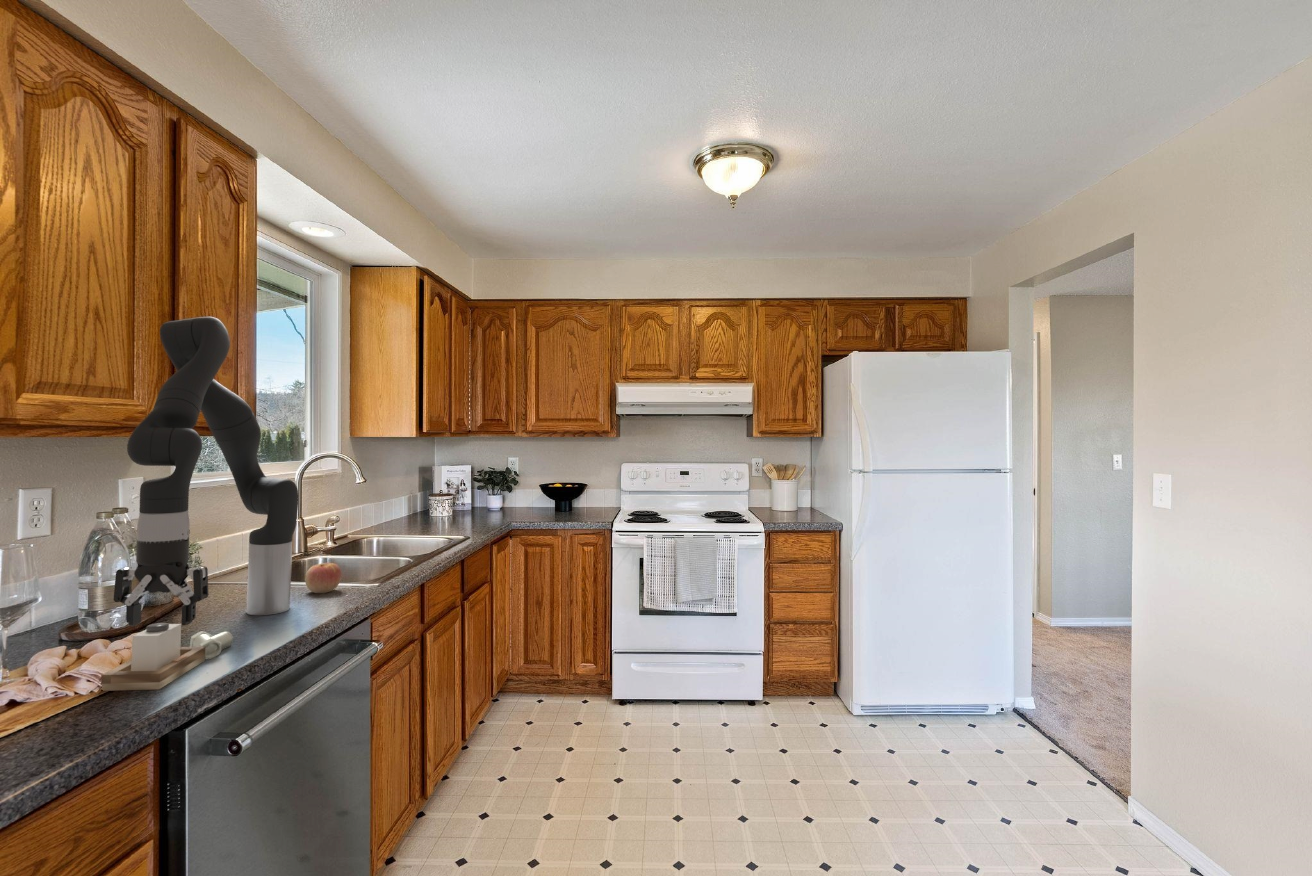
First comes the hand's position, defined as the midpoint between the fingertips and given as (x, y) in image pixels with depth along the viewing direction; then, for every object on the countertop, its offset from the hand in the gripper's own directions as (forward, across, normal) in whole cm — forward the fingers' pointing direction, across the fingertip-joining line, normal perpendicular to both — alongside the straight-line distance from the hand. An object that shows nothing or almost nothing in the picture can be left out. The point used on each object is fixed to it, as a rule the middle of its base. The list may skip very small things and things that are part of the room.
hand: (161, 624), depth 113 cm
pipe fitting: (+10, +3, +12) cm, 16 cm away
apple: (+10, +7, +61) cm, 62 cm away
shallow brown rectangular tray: (+9, 0, 0) cm, 9 cm away
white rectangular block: (+8, 0, 0) cm, 8 cm away
